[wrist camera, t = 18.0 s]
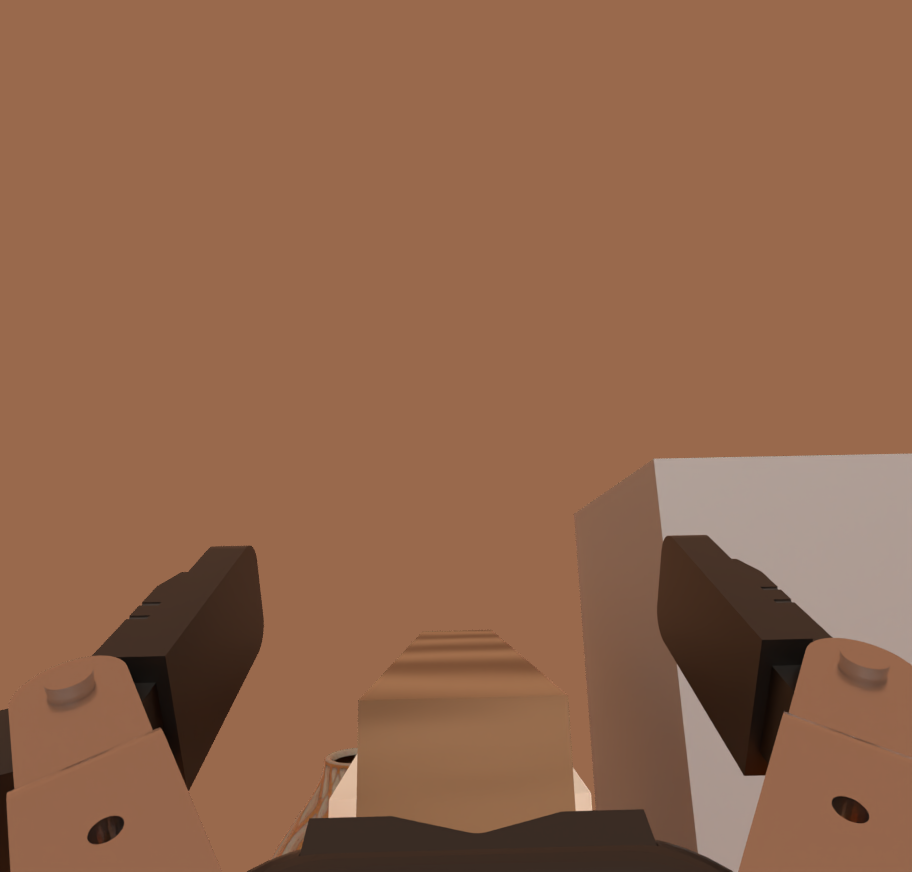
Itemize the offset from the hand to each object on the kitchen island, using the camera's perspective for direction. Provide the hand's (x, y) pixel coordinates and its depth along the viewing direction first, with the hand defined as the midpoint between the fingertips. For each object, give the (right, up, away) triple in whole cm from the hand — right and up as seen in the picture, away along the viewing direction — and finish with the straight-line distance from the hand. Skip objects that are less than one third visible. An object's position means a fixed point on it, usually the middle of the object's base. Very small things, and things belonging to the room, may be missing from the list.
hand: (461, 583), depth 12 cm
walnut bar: (0, -9, +10) cm, 14 cm away
